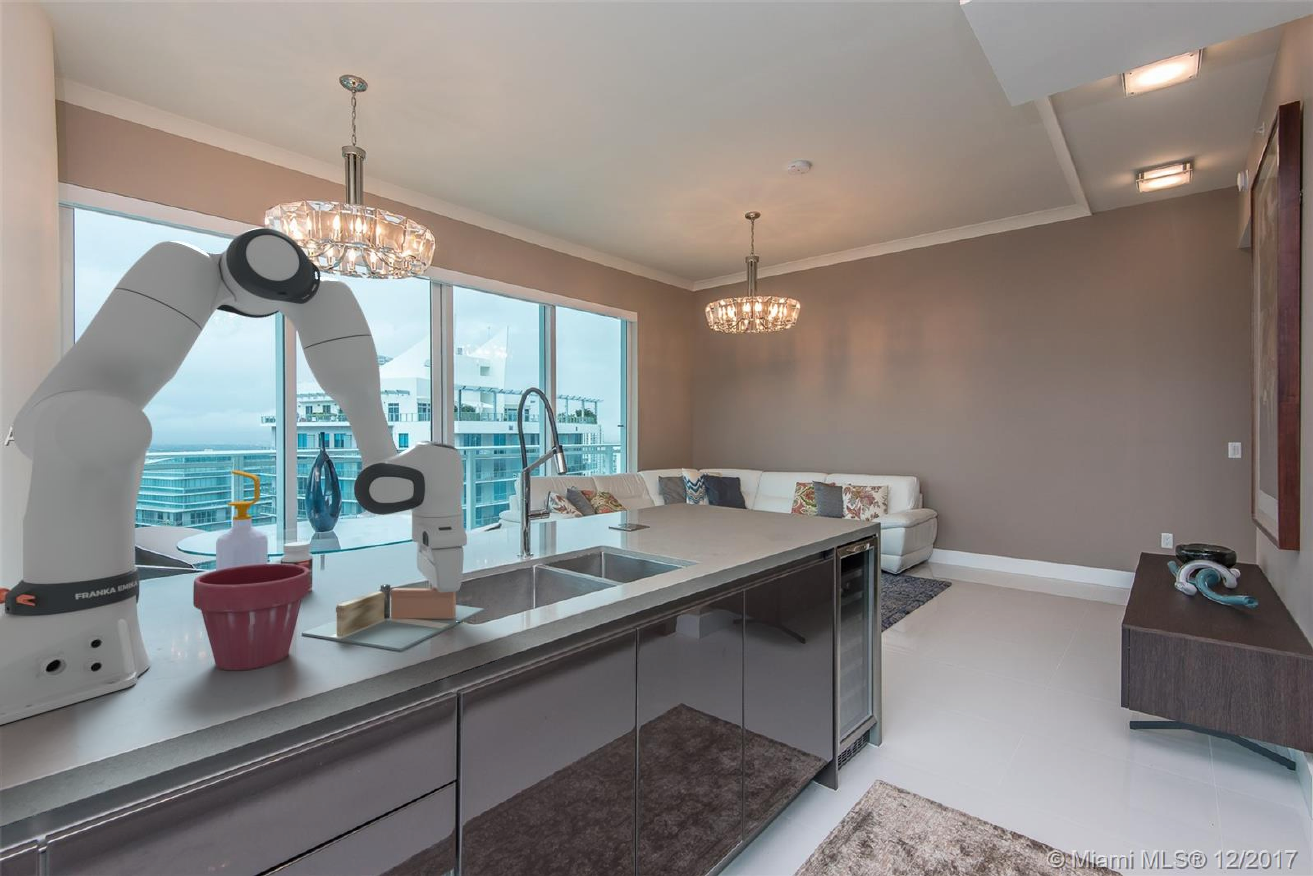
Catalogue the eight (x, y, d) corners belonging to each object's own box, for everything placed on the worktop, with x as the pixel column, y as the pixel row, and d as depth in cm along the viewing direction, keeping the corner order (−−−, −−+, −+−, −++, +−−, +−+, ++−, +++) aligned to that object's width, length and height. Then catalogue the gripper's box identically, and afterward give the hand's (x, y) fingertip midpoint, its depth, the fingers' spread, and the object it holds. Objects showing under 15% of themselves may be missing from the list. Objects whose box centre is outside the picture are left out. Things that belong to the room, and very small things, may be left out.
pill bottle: (301, 595, 123) (301, 546, 123) (274, 595, 123) (274, 546, 123) (318, 588, 129) (318, 541, 129) (291, 587, 129) (291, 540, 129)
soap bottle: (221, 582, 132) (221, 469, 131) (270, 579, 135) (270, 468, 135) (211, 593, 123) (211, 472, 123) (264, 589, 127) (264, 471, 127)
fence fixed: (344, 636, 99) (344, 606, 99) (335, 635, 100) (335, 605, 100) (385, 620, 108) (385, 592, 108) (376, 619, 108) (377, 591, 108)
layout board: (400, 651, 94) (400, 648, 94) (301, 635, 101) (301, 632, 101) (483, 610, 115) (483, 608, 115) (397, 599, 122) (397, 597, 122)
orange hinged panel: (390, 618, 108) (390, 590, 108) (394, 615, 110) (394, 587, 110) (452, 619, 108) (453, 591, 108) (456, 616, 110) (456, 588, 110)
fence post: (385, 619, 108) (385, 587, 108) (378, 618, 108) (378, 586, 108) (392, 617, 109) (392, 585, 109) (384, 616, 110) (385, 584, 110)
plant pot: (312, 637, 100) (313, 559, 100) (304, 668, 87) (304, 579, 87) (206, 649, 94) (206, 566, 94) (180, 685, 81) (180, 589, 81)
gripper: (408, 522, 119) (408, 593, 119) (431, 540, 101) (430, 623, 102) (442, 520, 122) (441, 589, 122) (469, 537, 105) (468, 617, 105)
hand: (436, 604), depth 112 cm, fingers closed
